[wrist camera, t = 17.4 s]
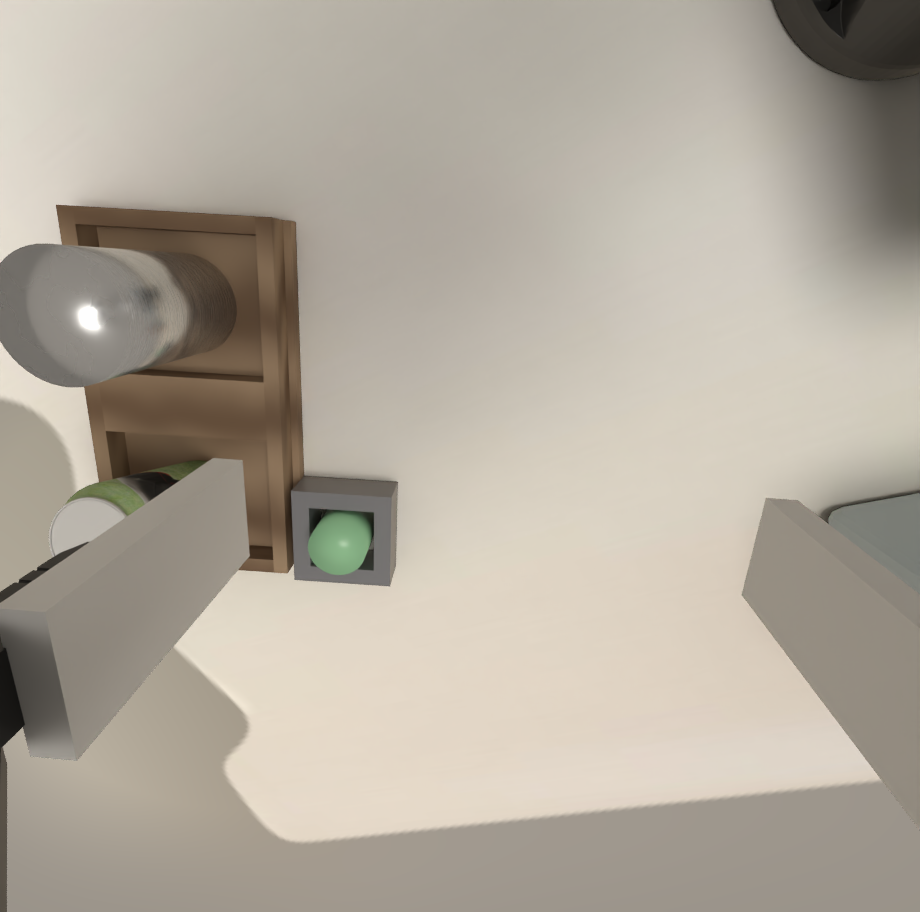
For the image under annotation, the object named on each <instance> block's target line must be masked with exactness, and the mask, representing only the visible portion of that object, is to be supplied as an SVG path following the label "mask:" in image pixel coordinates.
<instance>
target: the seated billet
mask: <svg viewBox="0 0 920 912" xmlns="http://www.w3.org/2000/svg"><path fill="white" fill-rule="evenodd" d="M236 315H237V306H236V300H235V296H234V293H233V290H232V287H231V286H230V284H229V282H228V280H227V279H226V277H225V276H224V275H223V273H222V272H221V271H220V270H219V269H218V268H217V267H216V266H215V265H213V264H212V263H210V262H209V261H207V260H205V259H204V258H201V257H199V256H196V255H193V254H187V253H175V252H160V251H146V250H131V249H116V248H102V247H87V246H73V245H58V244H33V245H28V246H25V247H22V248H19V249H17V250H15V251H14V252H12V253H11V254H9V255H8V256H7V257H6V258H5V259H4V260H3V261H2V262H1V263H0V341H1V343H2V344H3V346H4V347H5V349H6V350H7V352H8V353H9V354H10V355H11V356H12V358H13V359H14V360H15V361H16V362H17V363H18V364H19V365H21V366H22V367H23V368H24V369H25V370H27V371H28V372H30V373H31V374H33V375H34V376H36V377H38V378H40V379H42V380H44V381H46V382H49V383H51V384H55V385H59V386H64V387H84V386H89V385H92V384H96V383H99V382H103V381H106V380H110V379H113V378H117V377H120V376H124V375H127V374H131V373H134V372H138V371H141V370H145V369H148V368H152V367H155V366H159V365H162V364H166V363H169V362H173V361H176V360H180V359H183V358H187V357H190V356H194V355H197V354H201V353H204V352H208V351H211V350H213V349H215V348H217V347H219V346H220V345H221V344H223V343H224V342H225V341H226V340H227V338H228V337H229V336H230V334H231V332H232V330H233V328H234V325H235V322H236Z"/></svg>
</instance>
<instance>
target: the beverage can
mask: <svg viewBox="0 0 920 912" xmlns="http://www.w3.org/2000/svg"><path fill="white" fill-rule="evenodd" d="M206 462H207V461H201V460H194V461H187V462H183V463H179V464H175V465H170V466H166V467H162V468H158V469H154V470H149V471H145V472H141V473H137V474H133V475H128V476H124V477H120V478H116V479H112V480H107V481H103V482H99V483H95V484H92V485H89V486H87V487H85V488H83V489H81V490H79V491H78V492H77V493H75V494H74V495H73V496H72V497H71V498H70V499H69V500H68V501H67V503H66V504H65V505H64V506H63V507H62V508H61V509H60V510H59V511H58V512H57V513H56V515H55V516H54V518H53V521H52V523H51V526H50V530H49V546H50V550H51V554H52V556H53V557H54V556H56V555H57V554H59V553H61V552H63V551H66V550H68V549H71V548H73V547H76V546H78V545H81V544H83V543H86V542H91V541H92V540H93V539H95V538H96V537H98V536H99V535H101V534H102V533H104V532H105V531H107V530H108V529H110V528H111V527H113V526H114V525H115V524H117V523H118V522H120V521H121V520H123V519H124V518H126V517H127V516H129V515H130V514H132V513H133V512H135V511H136V510H137V509H139V508H140V507H142V506H143V505H145V504H146V503H148V502H149V501H151V500H152V499H154V498H155V497H157V496H158V495H159V494H161V493H162V492H164V491H165V490H167V489H168V488H170V487H171V486H173V485H174V484H176V483H177V482H179V481H180V480H182V479H183V478H184V477H186V476H187V475H189V474H190V473H192V472H193V471H195V470H196V469H198V468H199V467H201V466H202V465H204V464H205V463H206Z"/></svg>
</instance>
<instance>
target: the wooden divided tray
mask: <svg viewBox="0 0 920 912" xmlns="http://www.w3.org/2000/svg"><path fill="white" fill-rule="evenodd" d="M56 208H57V215H58V221H59V228H60V234H61V241H62V245H73V246H87V247H102V248H116V249H131V250H146V251H160V252H175V253H187V254H193V255H196V256H199V257H201V258H204V259H205V260H207V261H209V262H210V263H212V264H213V265H215V266H216V267H217V268H218V269H219V270H220V271H221V272H222V273H223V275H224V276H225V277H226V279H227V280H228V282H229V284H230V286H231V287H232V290H233V293H234V296H235V300H236V306H237V315H236V322H235V325H234V328H233V330H232V332H231V334H230V336H229V337H228V338H227V340H226V341H225V342H224V343H223V344H221V345H220V346H219V347H217V348H215V349H213V350H211V351H208V352H204V353H201V354H197V355H194V356H190V357H187V358H183V359H180V360H176V361H173V362H169V363H166V364H162V365H159V366H155V367H152V368H148V369H145V370H141V371H138V372H134V373H131V374H127V375H124V376H120V377H117V378H113V379H110V380H106V381H103V382H99V383H96V384H92V385H89V386H84V388H85V395H86V401H87V408H88V414H89V420H90V427H91V433H92V440H93V446H94V453H95V459H96V465H97V472H98V478H99V482H103V481H107V480H112V479H116V478H120V477H124V476H128V475H133V474H137V473H141V472H145V471H149V470H154V469H158V468H162V467H166V466H170V465H175V464H179V463H183V462H187V461H194V460H201V461H207V462H208V461H209V460H211V459H212V458H220V459H234V460H243V473H244V486H245V500H246V513H247V527H248V540H249V554H250V556H249V557H248V559H247V560H246V561H245V562H244V563H243V565H242V566H241V567H240V568H239V569H238V570H246V571H261V572H276V573H288V572H289V570H290V569H291V567H292V566H293V564H294V552H293V528H292V503H291V490H292V489H293V488H294V487H295V486H296V485H297V483H298V482H299V481H300V480H301V479H302V478H303V477H304V462H303V432H302V401H301V371H300V341H299V310H298V280H297V250H296V222H293V221H285V220H279V219H276V218H272V217H256V216H239V215H222V214H205V213H187V212H170V211H153V210H136V209H119V208H101V207H84V206H67V205H56Z"/></svg>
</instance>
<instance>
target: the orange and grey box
mask: <svg viewBox="0 0 920 912" xmlns="http://www.w3.org/2000/svg"><path fill="white" fill-rule="evenodd" d="M828 524H829V525H830V526H832V527H833V528H834V529H836V530H837V531H838V532H840V533H841V534H842V535H843V536H845V537H846V538H847V539H849V540H850V541H851V542H853V543H854V544H855V545H856V546H858V547H859V548H860V549H862V550H863V551H864V552H866V553H867V554H868V555H869V556H871V557H872V558H873V559H875V560H876V561H877V562H879V563H880V564H881V565H882V566H884V567H885V568H886V569H888V570H889V571H890V572H892V573H893V574H894V575H895V576H897V577H898V578H899V579H901V580H902V581H903V582H905V583H906V584H907V585H908V586H910V587H911V588H912V589H914V590H915V591H916V592H918V593H919V594H920V493H916V494H911V495H905V496H900V497H895V498H889V499H884V500H878V501H873V502H867V503H862V504H856V505H850V506H845V507H841V508H839V509H837V510H835V511H833V512H832V513H831V514H830V516H829V518H828Z"/></svg>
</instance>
